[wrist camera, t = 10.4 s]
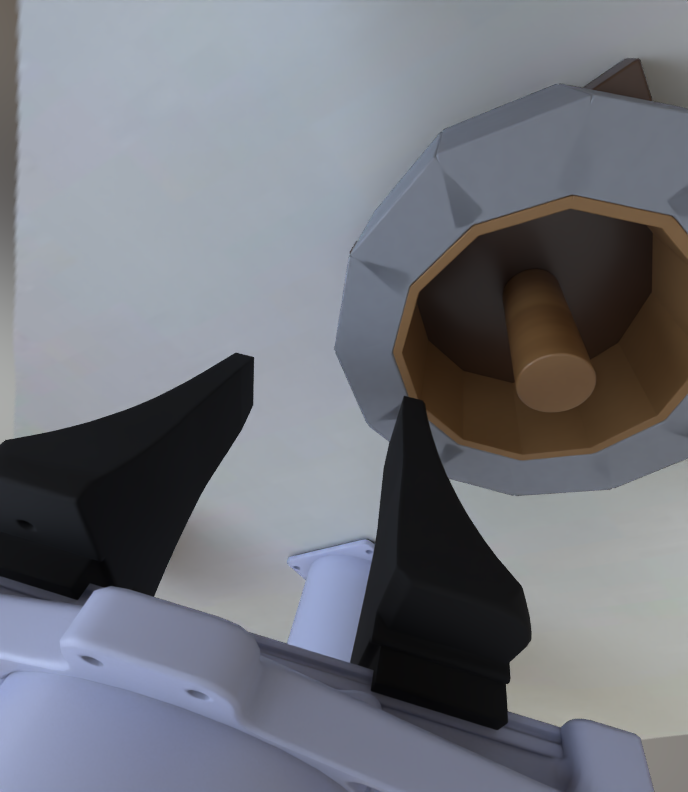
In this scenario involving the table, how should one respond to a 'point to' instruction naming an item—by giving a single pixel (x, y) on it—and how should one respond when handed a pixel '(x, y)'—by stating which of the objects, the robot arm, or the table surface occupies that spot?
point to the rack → (545, 292)
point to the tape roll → (504, 207)
